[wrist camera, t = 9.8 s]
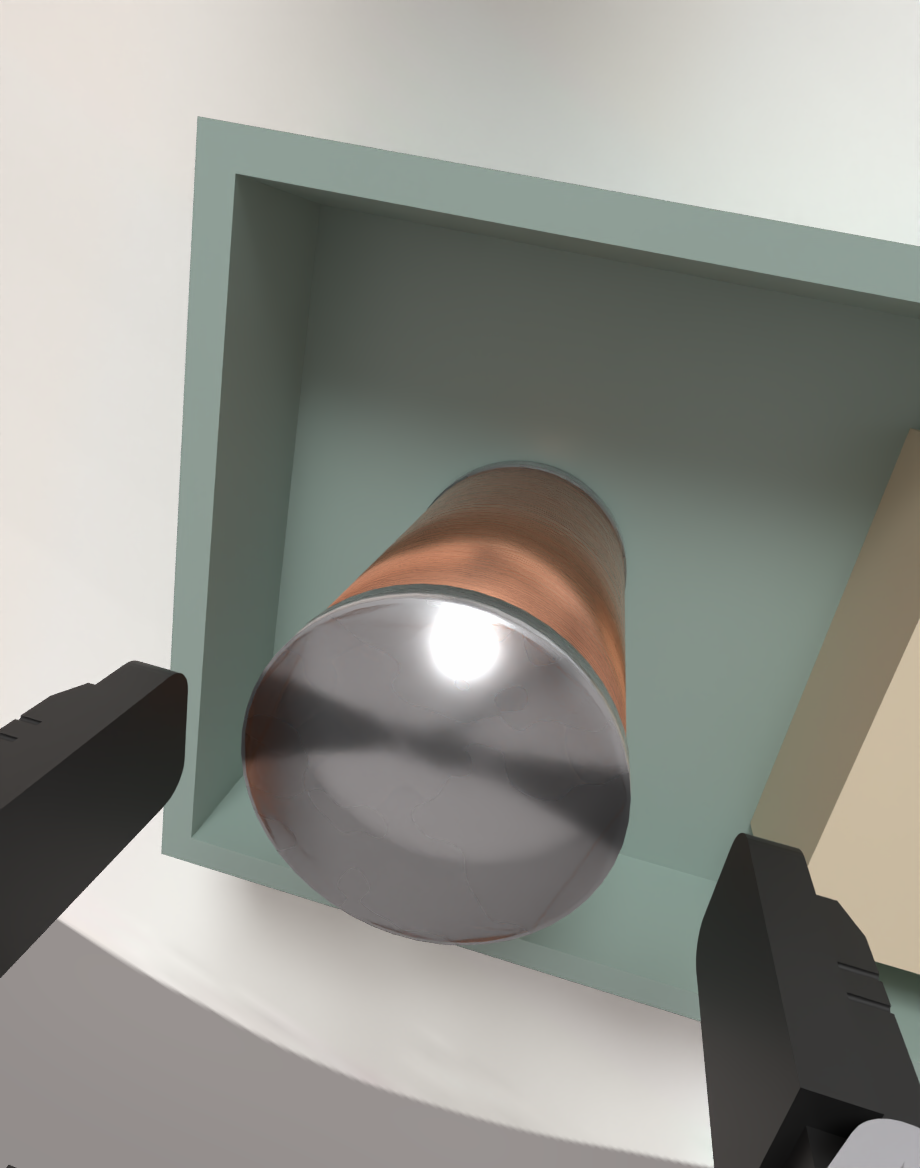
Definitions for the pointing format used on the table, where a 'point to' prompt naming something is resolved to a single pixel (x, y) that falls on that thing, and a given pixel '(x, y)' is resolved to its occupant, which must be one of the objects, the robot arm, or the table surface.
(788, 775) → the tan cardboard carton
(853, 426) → the tray
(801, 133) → the table surface
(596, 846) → the can
